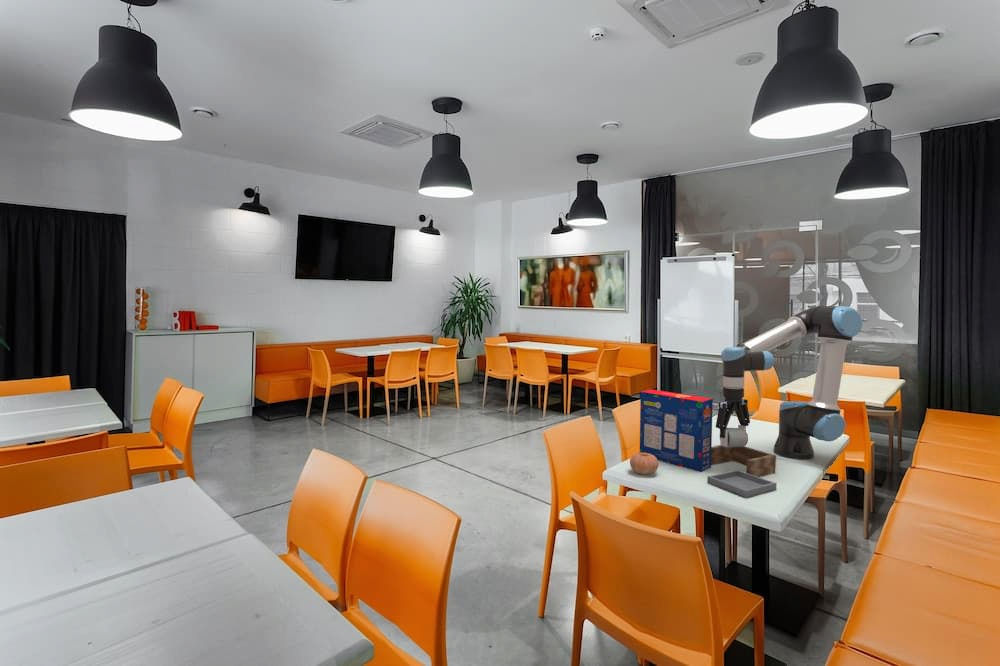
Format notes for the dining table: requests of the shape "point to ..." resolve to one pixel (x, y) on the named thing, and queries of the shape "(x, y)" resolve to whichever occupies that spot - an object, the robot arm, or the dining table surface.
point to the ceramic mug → (736, 437)
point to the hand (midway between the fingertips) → (732, 443)
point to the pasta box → (676, 428)
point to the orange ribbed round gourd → (644, 463)
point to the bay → (745, 459)
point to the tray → (741, 483)
